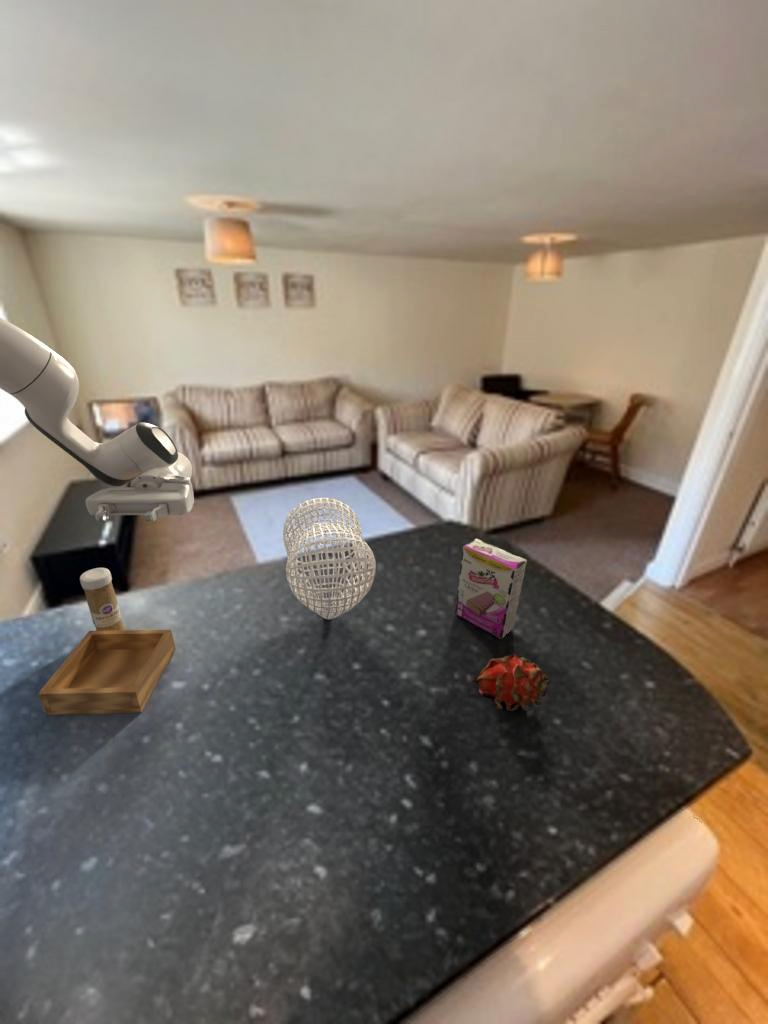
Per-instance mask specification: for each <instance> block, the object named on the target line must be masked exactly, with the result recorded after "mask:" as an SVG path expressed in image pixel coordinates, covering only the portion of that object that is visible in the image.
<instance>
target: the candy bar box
mask: <svg viewBox="0 0 768 1024" xmlns="http://www.w3.org/2000/svg"><path fill="white" fill-rule="evenodd" d="M460 560H461V561H460V569H459V575H458V576H459V577H458V579H459V580H458V584H457V593H456V602H455V608H454V609H455V610H454V615H455V614H456V615H455V616H457V615H458V616H459V618H460V617H461V618H460V619H462V618H463V619H462V620H464V619H465V620H464V621H466V620H467V621H466V622H467V623H469V622H470V623H469V624H471V623H472V624H471V625H473V624H474V625H473V626H475V625H476V626H475V627H477V626H478V627H480V628H483V629H485V630H486V631H489V632H490V633H492V634H494V635H496V636H498V637H500V638H503V637H504V636H505V635H506V634H508V633H509V632H510V631H511V630H512V629H513V628H514V629H515V624H516V619H517V614H518V607H519V603H520V599H521V593H522V588H523V585H524V584H523V582H524V578H525V575H526V569H527V564H528V560H527V559H526V558H523V557H521V556H518V555H516V554H514V553H511V552H510V551H507V550H504V549H502V548H499V547H498V546H495V545H492V544H490V543H489V542H485V541H484V540H481V539H479V538H475V539H473V540H471V541H470V542H469V543H466V544H464V545H463V546H462V551H461V559H460ZM458 616H457V617H458ZM478 627H477V628H478ZM480 628H479V629H480ZM514 629H513V630H514ZM513 630H512V631H513ZM486 631H485V632H486ZM512 631H511V632H512ZM511 632H510V633H511ZM510 633H509V634H510ZM509 634H508V635H509Z"/></svg>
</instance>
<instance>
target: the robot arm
mask: <svg viewBox="0 0 768 1024" xmlns="http://www.w3.org/2000/svg"><path fill="white" fill-rule="evenodd" d="M0 389H1V391H4V392H5V393H7V394H9V395H10V396H12V397H13V398H14V399H16V400H17V401H18V402H19V403H20V404H21V405H22V406H23V407H24V415H25V418H26V419H27V421H28V422H29V423H30V424H31V425H32V426H33V427H34V428H35V429H36V430H37V431H39V432H40V433H41V434H42V435H43V436H45V438H47V439H48V440H50V441H51V442H52V443H54V444H55V445H56V446H57V447H58V448H60V449H62V451H64V452H65V453H67V454H68V455H69V456H71V457H72V458H73V459H74V460H76V461H77V462H78V463H80V464H81V465H83V466H84V467H85V468H86V469H87V471H89V473H90V474H92V476H93V477H94V478H96V479H97V480H98V481H99V482H101V483H103V484H105V485H108V486H111V487H104V488H102V489H100V490H97V491H96V492H94V493H93V494H91V495H89V496H87V497H86V498H85V506H86V509H87V512H88V513H89V515H90V516H95V521H96V522H107V520H109V519H110V516H144V518H145V521H146V522H155V521H156V520H157V519H160V518H163V517H164V516H183V515H187V514H188V513H190V512H191V511H192V510H193V509H192V508H193V507H194V504H195V497H194V496H195V495H194V493H195V492H194V490H193V489H194V488H193V484H192V480H191V479H192V477H193V465H192V463H191V460H190V459H189V458H188V457H187V456H186V455H185V454H183V453H181V452H179V451H178V448H177V446H176V444H175V443H174V441H173V440H172V438H171V436H169V435H168V433H167V432H166V431H165V430H164V429H162V428H160V427H159V426H156V425H154V424H151V423H148V422H142V421H141V422H138V423H136V424H134V425H133V426H131V427H129V428H127V429H126V430H124V431H123V432H121V433H120V434H119V435H117V436H115V437H113V438H112V439H110V440H108V441H106V442H96V441H94V440H92V438H91V437H89V436H88V435H87V434H86V433H85V432H83V431H82V430H81V429H80V428H78V427H77V426H76V425H75V424H74V423H72V421H71V420H70V419H69V416H70V413H71V411H72V410H73V408H74V406H75V404H76V402H77V399H78V396H79V391H80V381H79V378H78V375H77V371H76V370H75V368H74V367H73V366H72V365H71V364H70V363H69V361H67V360H66V359H65V358H64V357H62V356H61V355H60V354H58V353H57V352H56V351H54V350H53V349H52V348H50V347H49V346H47V345H46V344H45V343H44V342H42V341H40V339H38V338H36V337H35V336H33V335H31V334H30V333H29V332H26V330H24V329H22V328H20V327H19V326H17V325H15V324H13V323H12V322H10V321H8V320H6V319H4V318H2V317H0ZM129 482H131V483H130V486H125V485H126V484H128V483H129Z"/></svg>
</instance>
